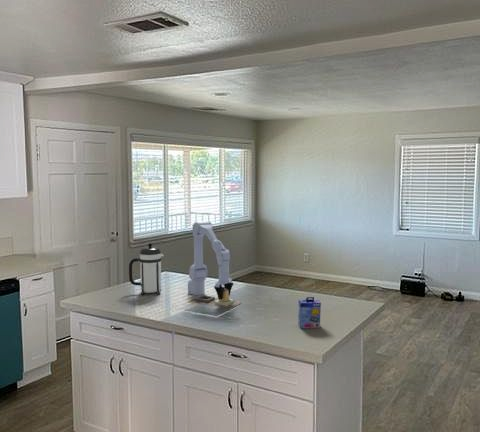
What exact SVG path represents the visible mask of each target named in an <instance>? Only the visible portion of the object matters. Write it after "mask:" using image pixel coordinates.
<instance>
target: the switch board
mask: <svg viewBox="0 0 480 432" xmlns="http://www.w3.org/2000/svg"><path fill="white" fill-rule="evenodd" d="M201 296H202V295H199V297H201ZM196 298H197V297H196ZM196 298H193V299H191V300H189V301H188V303H192V304H198V305H205V306H209V307H211V306H213V307H218V308H225V309H228V311H230V310H232V309H234V308H235V307H238V306H240V305H242V303H243V302H242V301H237V300H234V303H232V304H230V305H228V306H223V305H217V304H214V301H216V300H218V297H215V300H213V301H211V302H209V303H205V302H198V301H196ZM206 300H207V299H206Z"/></svg>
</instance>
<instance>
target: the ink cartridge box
mask: <svg viewBox="0 0 480 432" xmlns="http://www.w3.org/2000/svg"><path fill="white" fill-rule="evenodd" d="M321 306H322V303H321V301H320V300H319V299H315V297H314V296H307V297H306V299H299V300H298V312H297V313H298V316H297V317H298V319H297V321H298V326H299V329H319V328H321V309H322V307H321Z"/></svg>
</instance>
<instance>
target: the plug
mask: <svg viewBox="0 0 480 432" xmlns="http://www.w3.org/2000/svg"><path fill="white" fill-rule="evenodd" d="M229 297H230V296H229V290H227V289H225V288H224V291H223V299H222V300H221V299H219V302H228V301H229Z"/></svg>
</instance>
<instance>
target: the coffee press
mask: <svg viewBox="0 0 480 432" xmlns="http://www.w3.org/2000/svg"><path fill="white" fill-rule="evenodd" d="M138 253H139V258H136V257H135V258H133V259H131V260H130V262H129V264H128V277H129V282H130V284H131V285H134V286H139V287H140V290H141V292H140V296H144V295H145V294H150V293H152V294H153V293H155V294H156V295H157V296H160V295H161V291H162V257H164V256H165V255H164V254H163V253H162V250H161V249H160V248H159V247H156V246H153V244H152V243H151V242H149V243H148V245H147V246H145V247H143V248H141V249H140V251H138ZM135 262H139V264H140V265H139V266H140V267H139V269H140V271H139V272H140V275H139V276H140V277H139V278H140V282H136V281H134V280H133V279H134V278H133V264H134V263H135Z"/></svg>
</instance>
